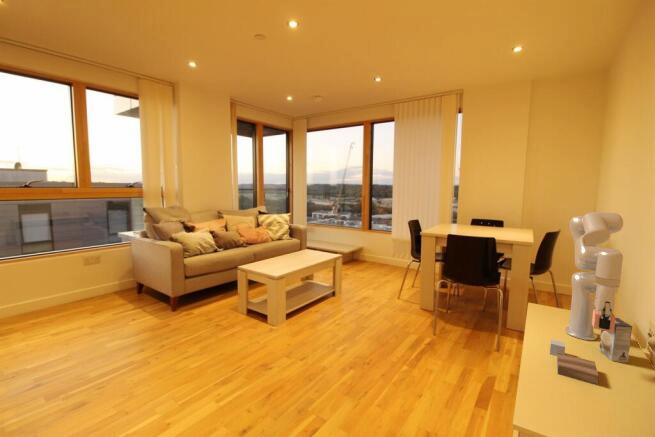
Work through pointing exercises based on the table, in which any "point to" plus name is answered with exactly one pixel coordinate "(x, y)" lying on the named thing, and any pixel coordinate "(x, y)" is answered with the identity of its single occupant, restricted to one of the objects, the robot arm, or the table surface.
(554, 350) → the grey cube
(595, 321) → the terracotta cube
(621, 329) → the coffee box
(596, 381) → the walnut block
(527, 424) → the table surface
